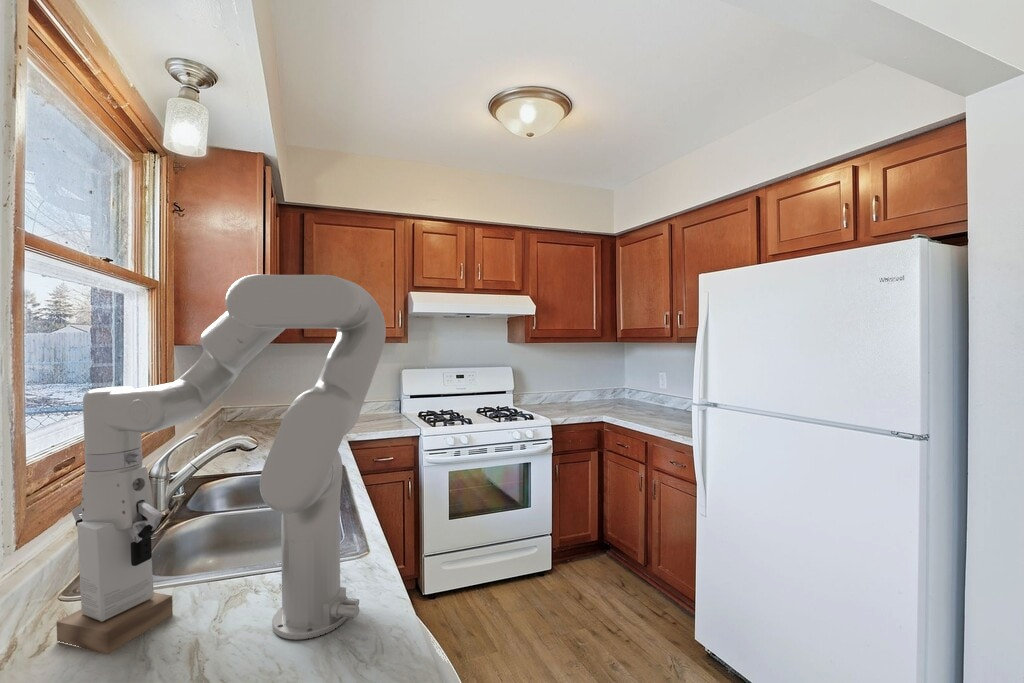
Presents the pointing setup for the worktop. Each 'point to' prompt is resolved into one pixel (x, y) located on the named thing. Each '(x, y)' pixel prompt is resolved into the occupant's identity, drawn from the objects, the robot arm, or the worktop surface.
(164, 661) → the worktop surface
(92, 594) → the skincare box
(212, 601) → the worktop surface
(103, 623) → the walnut block
